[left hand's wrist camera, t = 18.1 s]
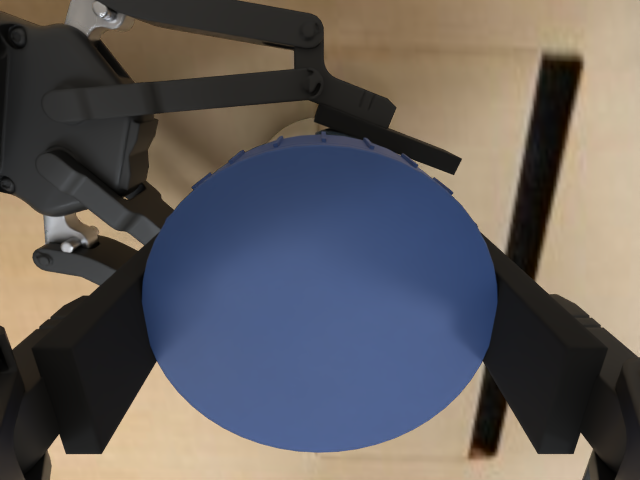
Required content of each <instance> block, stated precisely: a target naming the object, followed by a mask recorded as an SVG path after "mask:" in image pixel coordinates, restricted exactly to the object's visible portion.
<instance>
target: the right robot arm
mask: <svg viewBox="0 0 640 480" xmlns="http://www.w3.org/2000/svg"><path fill="white" fill-rule="evenodd" d="M135 19H138V20H140V21H143V22H146V23H149V24H151V25H154V26H158V27H162V28H167V29H173V30H179V31H184V32H190V33H196V34H202V35H207V36H213V37H219V38H224V39H230V40H236V41H242V42H247V43H253V44H259V45H265V46H270V47H276V48H282V49H288V50H293V51H294V69H291V70H280V71H269V72H258V73H247V74H236V75H225V76H214V77H203V78H192V79H181V80H170V81H159V82H142V83H134V81H133V80H132V79H131V78H130V76H129V75H128V74H127V73H126V71H125V70H124V69H123V68H122V66H121V65H120V64H119V62H118V61H117V60H116V59H115V57H114V56H113V55H112V54H111V52H110V51H109V50H108V48H107V47H106V46H105V45H104V43H103V42H102V41H101V40H100V38H101V36H102V34H103V33H104V32H106V31H108V30H116V31H120V32H126V31H128V30H130V29H131V28H132V26H133V24H134V22H135ZM302 100H310V101H312V102H315V103H317V104H319V105H318V108H317V111H316V114H315V117H314V122H315V123H318V124H320V125H323V126H326V127H328V128H331V129H334V130H336V131H339V132H342V133H344V134H347V135H349V136H352V137H355V138H357V139H360V140H363V139H364V138H368V139H369V141H370V142H371V143H373V144H376V145H379V146H381V147H384V148H387V149H389V150H391V151H393V152H394V153H397V154H400V155H402V153H403V154H405V155H406V156H408V157H409V158H410V159H413V160H415V161H418V162H421V163H423V164H426V165H429V166H431V167H434V168H437V169H439V170H442V171H444V172H447V173H450V174H452V175H454V174H455V172H456V170H457V168H458V166H459V164H460V162H461V160H462V159H461V158H459V157H457V156H455V155H453V154H452V153H450V152H448V151H446V150H444V149H441V148H438V147H436V146H433V145H431V144H428V143H426V142H423V141H420V140H418V139H415V138H413V137H410V136H407V135H405V134H402V133H400V132H397V131H395V130H392V129H389V128H388V127H389V124H390V122H391V119H392V117H393V115H394V112H395V110H396V107H395V106H394V105H393V104H392V103H391V102H390V101H389V100H388V99H387V98H385V97H382V96H380V95H377V94H375V93H372V92H370V91H367V90H365V89H362V88H360V87H357V86H355V85H352V84H350V83H347V82H344V81H342V80H339V79H337V78H335V77H333V76H332V75H331V74H330V73H329V72H328V71H327V69H326V67H325V64H324V28H323V25H322V22H321V20H320V19H319V18H318V17H317V16H315V15H313V14H310V13H305V12H299V11H294V10H288V9H282V8H277V7H271V6H266V5H260V4H255V3H249V2H244V1H238V0H71V2H70V5H69V9H68V13H67V16H66V20H65V24H53V25H48V26H39V25H36V24H34V23H31V22H28V21H26V20H23V19H21V18H18V17H15V16H13V15H10V14H7V13H5V12H2V11H0V192H3V193H8V194H12V195H14V196H17V197H18V198H20V199H22V200H23V201H25V202H26V203H27V204H29V205H30V206H31V207H32V208H33V209H34V210H36V211H37V212H39V213H41V214H43V215H44V229H45V245H44V246H42V247H40V248H39V249H37V250H35V252H34V253H33V257H32V258H33V261H34V263H35V264H36V266H37V267H39V268H40V269H42V270H45V271H50V272H56V273H62V274H68V275H74V276H80V277H83V278H85V279H87V280H89V281H91V282H94V283H96V284H98V285H101V284H103V283H104V282H105V281H106V280H107V279H108V278H109V277H110V276H111V275H112V274H114V273H115V272H116V271H117V270H118V269H119V268H120V267H121V266H122V265H124V264H125V263H126V262H127V261H128V260H129V259H130V258H131V257H132V256H133V255H135V254H136V253H137V252H138V251H137V250H135V249H133V248H131V247H129V246H127V245H125V244H123V243H121V242H119V241H116V240H114V239H111V238H108V237H104V236H100V235H98V234H99V230H98V229H97V228H96V227H95V226H87V225H85V224H83V223H82V222H80V220H79V219H78V218H77V216H76V212H80V211H83V210H87V209H89V210H90V211H91V212H93V213H94V214H95V215H96V216H98V217H99V218H100V219H102V220H103V221H104V222H105V223H107V224H108V225H109V226H110V227H112V228H114V229H115V230H118V231H125V232H128V233H129V234H131V235H132V236H133V237H134V238H136V239H137V240H138V241H139V242H141V243H142V244H143V245H146V244H147V243H148V242H149V241H150V240H151V239H152V238H153V237H154V236H155V235H157V234H158V233H159V232H160V230H161V228H162V227H163V225H164V223H165V220H166V218H167V217H168V216H169V215H171V214H172V212H173V211H174V210H173V209H172V208H171V207H170V206H169V205H167V204H166V203H165V202H164V201H163V200H162V198H161V194H160V193H159V192H158V191H157V190H156V189H155V188H154V187H153V186H152V185H150V184H149V183H148V182H147V181H146V178H147V173H148V168H149V161H148V148H149V146H150V144H151V142H152V140H153V138H154V137H155V134H156V129H157V124H158V120H157V119H155V118H154V114H157V113H167V112H178V111H190V110H201V109H212V108H223V107H235V106H246V105H257V104H268V103H280V102H291V101H302ZM124 197H126V198H127V199H128V200H126V199H123V198H124Z"/></svg>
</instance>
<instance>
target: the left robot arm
mask: <svg viewBox="0 0 640 480" xmlns="http://www.w3.org/2000/svg"><path fill="white" fill-rule="evenodd" d="M480 233H481V232H480ZM158 234H159V233H158ZM158 234H157V235H155V236H154V237H153V238H152V239H151V240H150V241H149V242H148V243H147V244H146V245H144V246H143V247H142V248H141V249H140V250H139V251H138V252H137V253H136V254H135V255H133V256H132V257H131V258H130V259H129V260H128V261H127V262H126V263H125V264H124V265H122V266H121V267H120V268H119V269H118V270H117V271H116V272H115V273H114V274H112V275H111V276H110V277H109V278H108V279H107V280H106V281H105V282H104V283H103V284H101V285H100V286H99V287H98V288H97V289H96V290H95V291H94V292H93V293H92V294H90V295H89V296H81V297H80V298H78V299H76V300H74V301H72V302H70V303H68V304H66V305H64V306H63V307H62V308H61V309H59V310H58V311H57V312H56V313H55V314H54V315H52V316H51V319H48V320H47V321H45V322H44V323H43V324H42V325H41V326H40V327H39V329H36V330H35V331H34V332H33V333H31V334H30V335H29V336H28V337H27V338H26V339H24V340H23V341H22V342H21V343H20V344H19V345H17V346H16V347H15V348H14V349H13V350H12V349H11V346H10V343H9V340H8V337H7V334H6V331H5V329H4V327H2V326H0V480H50V474H51V467H52V466H51V460H50V456H49V453H48V451H47V449H48V448H49V447H50V445H51V444H52V443H53V441H54V440H55V439H56V437H57V436H58V435H59V434H60V437H61V440H62V443H63V446H64V449H65V452H66V454H102V452H103V451H104V449H105V447H106V446H107V444H108V442H109V441H110V439H111V437H112V436H113V434H114V432H115V431H116V429H117V427H118V425H119V424H120V422H121V420H122V419H123V417H124V415H125V414H126V412H127V410H128V409H129V407H130V405H131V404H132V402H133V400H134V398H135V397H136V395H137V393H138V392H139V390H140V388H141V387H142V385H143V383H144V382H145V380H146V378H147V377H148V375H149V373H150V372H151V370H152V368H153V366H154V365H155V363H156V361H157V360H156V358H155V356H154V353H153V351H152V349H151V346H150V342H149V337H148V332H147V327H146V322H145V317H144V311H143V306H142V285H143V278H144V273H145V268H146V263H147V259H148V257H149V254H150V252H151V249H152V246H153V244H154V241H155V239H156V237H157V236H158ZM481 235H482V237H483V239H484V240H485V242H486V244H487V247H488V250H489V253H490V256H491V259H492V261H493V264H494V270H495V275H496V281H497V298H498V302H497V308H496V314H495V319H494V324H493V329H492V334H491V339H490V344H489V348H488V350H487V352H486V354H485V357H484V359H483V362H484V364H485V365H486V367H487V369H488V371H489V372H490V374H491V376H492V377H493V379H494V381H495V382H496V384H497V386H498V387H499V389H500V391H501V392H502V394H503V396H504V398H505V399H506V401H507V403H508V404H509V406H510V408H511V409H512V411H513V413H514V414H515V416H516V418H517V419H518V421H519V423H520V424H521V426H522V428H523V430H524V431H525V433H526V435H527V436H528V438H529V440H530V441H531V443H532V445H533V446H534V448H535V450H536V451H537V453H538V454H574V451H575V448H576V445H577V442H578V439H579V436H580V433H582V435H583V436H584V437H585V439H586V440H587V441H588V443H589V444H590V445H591V446H592V448H593V451H592V453H591V456H590V459H589V462H588V465H587V468H586V470H585V473H584V476H583V479H582V480H640V357H637V356H636V355H635V354H634V353H633V352H632V351H630V350H629V349H628V348H627V347H626V346H624V345H623V344H622V343H621V342H620V341H619V340H617V339H616V338H615V337H614V336H613V335H612V334H610V333H609V332H608V331H607V330H606V329H604V328H601V325H600V324H599V323H597V322H596V321H595V320H594V319H593V318H589V315H588V314H587V313H586V312H585V311H583V310H582V309H581V308H580V307H579V306H577V305H576V304H575V303H573V302H571V301H569V300H567V299H565V298H563V297H561V296H559V295H557V294H548V293H547V292H546V291H545V290H544V289H542V288H541V287H540V286H539V285H538V284H537V283H536V282H535V281H534V280H533V279H531V278H530V277H529V276H528V275H527V274H526V273H525V272H524V271H523V270H522V269H520V268H519V267H518V266H517V265H516V264H515V263H514V262H513V261H512V260H511V259H509V258H508V257H507V256H506V255H505V254H504V253H503V252H502V251H501V250H500V249H498V248H497V247H496V246H495V245H494V244H493V243H492V242H491V241H490V240H489V239H487V238H486V237H485V236H484V235H483V234H482V233H481Z"/></svg>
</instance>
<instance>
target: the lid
mask: <svg viewBox="0 0 640 480" xmlns="http://www.w3.org/2000/svg"><path fill="white" fill-rule="evenodd" d="M417 166H418V164H416V163H415V162H414V161H413V160H411V159H410V158H409V157H408V156H406V155H405V154H403V153H402V155H401V156H400V155H398V154H396V153H394V152H393V151H391V150H389V149H387V148H384V147H381V146H379V145H376V144H373V143H371V142H370V141H369V139H368V138H364V139H363V140H360V139H355V138H350V137H346V136H336V135H326V132H322V133H321V134H320V135H302V136H295V137H290V138H283V136H279V137H278V139H277V140H275V141H272V142H269V143H266V144H264V145H261V146H258V147H255V148H253V149H251V150H249V151H247V152H244V150H242V151H240V152H239V153H238V154H236V155H235V156H234V157H233V158H231V159H230V160H229V161H228V163H227V164H225V165H224V166H222V167H221V168H220V169H218V170H217V171H216V172H215V173H213V174H211V173H209V174H208V175H206V176H205V177H204V178H202V179H201V180H200V181H199V182H197V183H196V184H195V185H194V186H192V189H193V191H192V192H191V193H190V194H189V195H188V196H187V197H186V198H185V199H184V200H183V201H181V202H180V204H179V205H178V206H177V207H176V209H175V210H174V211H173V212H172V214H171V215H169V216H168V217H167V218H166V220H165V223H164V225H163V227H162V228H161V230H160V232H159V234H158V236H157V237H156V239H155V241H154V244H153V246H152V249H151V252H150V254H149V257H148V259H147V263H146V268H145V273H144V278H143V285H142V306H143V311H144V317H145V322H146V327H147V332H148V337H149V342H150V346H151V349H152V351H153V353H154V356H155V358H156V360H157V362H158V364H159V365H160V367H161V369H162V371H163V372H164V374H165V376H166V377H167V378H168V380H169V381H170V382H171V384H172V385H173V386H174V387H175V389H176V390H177V391H178V392H179V393H180V394H181V395H182V396H183V397H184V398H185V399H186V400H187V401H188V402H189V403H190V404H191V405H192V406H193V407H194V408H195V409H196V410H198V411H199V412H200V413H202V414H203V415H204V416H205V417H207V418H208V419H210V420H211V421H213V422H214V423H216V424H218V425H219V426H221V427H222V428H224V429H226V430H228V431H230V432H232V433H234V434H237V435H239V436H241V437H243V438H246V439H249V440H251V441H254V442H257V443H260V444H263V445H267V446H271V447H275V448H279V449H286V450H293V451H300V452H339V451H347V450H354V449H360V448H364V447H368V446H372V445H376V444H379V443H382V442H385V441H388V440H391V439H394V438H396V437H398V436H401V435H403V434H405V433H407V432H409V431H411V430H413V429H415V428H417V427H418V426H420V425H422V424H423V423H425V422H427V421H428V420H430V419H431V418H433V417H434V416H435V415H437V414H438V413H439V412H441V411H442V410H443V409H444V408H446V407H447V406H448V405H449V404H450V403H451V402H452V401H453V400H454V399H455V398H456V397H457V396H458V395H459V394H460V393H461V392H462V390H463V389H464V388H465V387H466V385H467V384H468V383H469V382H470V381H471V379H472V378H473V376H474V374H475V373H476V371H477V370H478V368H479V366H480V365H481V363H482V361H483V359H484V357H485V354H486V352H487V350H488V348H489V344H490V339H491V334H492V329H493V324H494V319H495V314H496V308H497V302H498V298H497V281H496V275H495V270H494V264H493V261H492V259H491V256H490V253H489V250H488V247H487V244H486V242H485V240H484V239H483V237H482V235H481V233H480V231H479V229H478V226H477V224H476V223H475V222H474V221H473V220H472V218H471V217H470V216H469V214H468V213H467V212H466V210H465V209H464V208H463V206H462V205H461V204H460V203H459V202H458V201H457V200H456V199H455V198H454V197H453V196H452V194H453V192H452V191H451V190H450V189H449V188H447V187H446V186H445V185H444V184H442V183H441V182H440V181H439V180H437V179H436V178H435V177H434V178H433V179H432V178H431V177H430V176H429V175H427V174H426V173H425V172H424V171H422V170H421V169H420V168H418V167H417Z"/></svg>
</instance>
